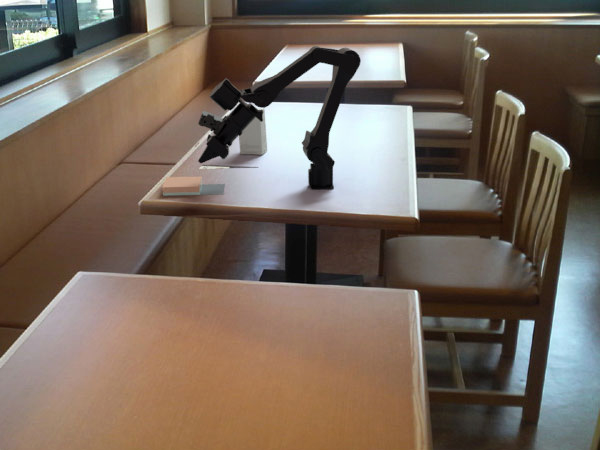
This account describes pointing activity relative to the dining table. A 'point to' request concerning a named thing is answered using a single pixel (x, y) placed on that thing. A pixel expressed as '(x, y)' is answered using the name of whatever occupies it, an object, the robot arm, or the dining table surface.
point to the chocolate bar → (222, 167)
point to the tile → (182, 186)
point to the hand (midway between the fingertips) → (199, 162)
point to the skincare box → (254, 137)
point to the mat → (212, 189)
